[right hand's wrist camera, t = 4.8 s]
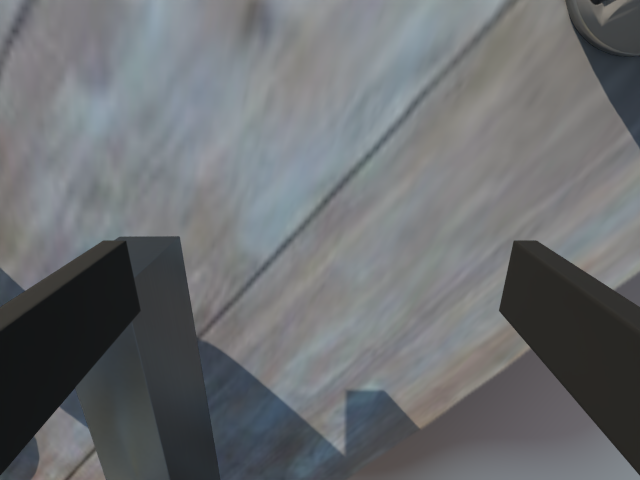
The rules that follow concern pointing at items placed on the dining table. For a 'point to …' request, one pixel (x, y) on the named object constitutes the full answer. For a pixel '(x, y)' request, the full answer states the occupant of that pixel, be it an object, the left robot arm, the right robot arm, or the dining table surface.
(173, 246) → the bar
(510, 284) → the right robot arm
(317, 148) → the dining table surface
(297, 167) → the dining table surface
